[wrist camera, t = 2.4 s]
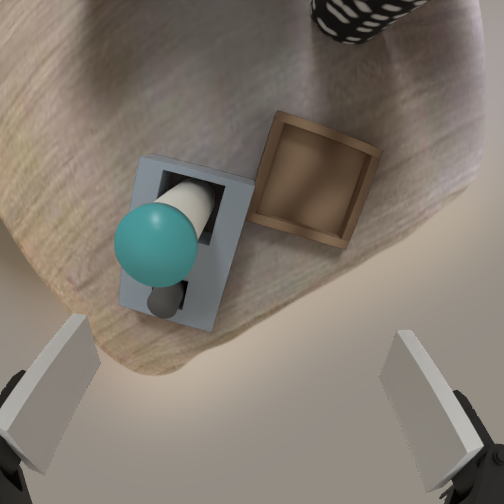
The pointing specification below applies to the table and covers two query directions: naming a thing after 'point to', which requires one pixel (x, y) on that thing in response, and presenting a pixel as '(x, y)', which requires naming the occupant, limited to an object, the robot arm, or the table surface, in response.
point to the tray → (312, 181)
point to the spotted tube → (358, 17)
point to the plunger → (166, 300)
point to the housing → (209, 244)
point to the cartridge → (164, 234)
